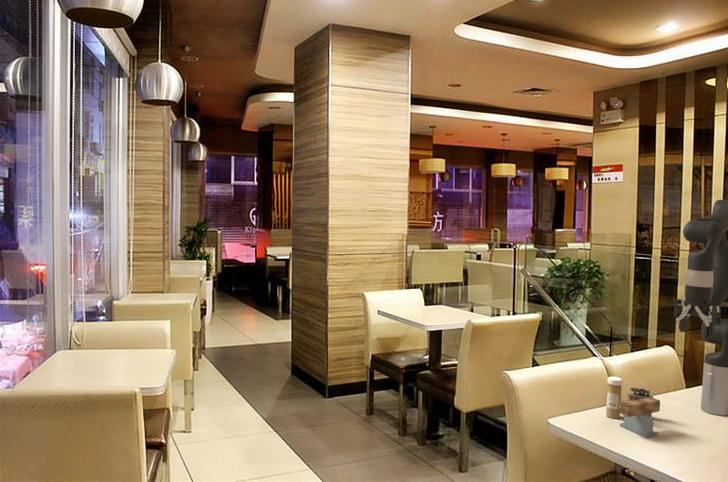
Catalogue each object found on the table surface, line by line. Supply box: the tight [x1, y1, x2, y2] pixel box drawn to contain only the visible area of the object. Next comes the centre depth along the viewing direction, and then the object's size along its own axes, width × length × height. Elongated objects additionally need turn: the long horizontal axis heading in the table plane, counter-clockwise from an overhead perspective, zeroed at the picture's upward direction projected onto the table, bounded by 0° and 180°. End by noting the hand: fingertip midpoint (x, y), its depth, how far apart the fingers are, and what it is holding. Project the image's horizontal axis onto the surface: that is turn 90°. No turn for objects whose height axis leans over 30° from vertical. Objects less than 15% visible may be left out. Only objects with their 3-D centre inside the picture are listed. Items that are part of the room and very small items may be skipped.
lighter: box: [627, 386, 654, 417], centre depth 199 cm, size 8×3×10 cm, turn 71°
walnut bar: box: [620, 397, 661, 417], centre depth 186 cm, size 14×3×4 cm, turn 114°
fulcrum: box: [619, 414, 658, 439], centre depth 186 cm, size 5×10×6 cm, turn 24°
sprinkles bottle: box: [605, 376, 623, 420], centre depth 197 cm, size 5×5×13 cm
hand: (695, 334), depth 183 cm, fingers open, 8 cm apart
